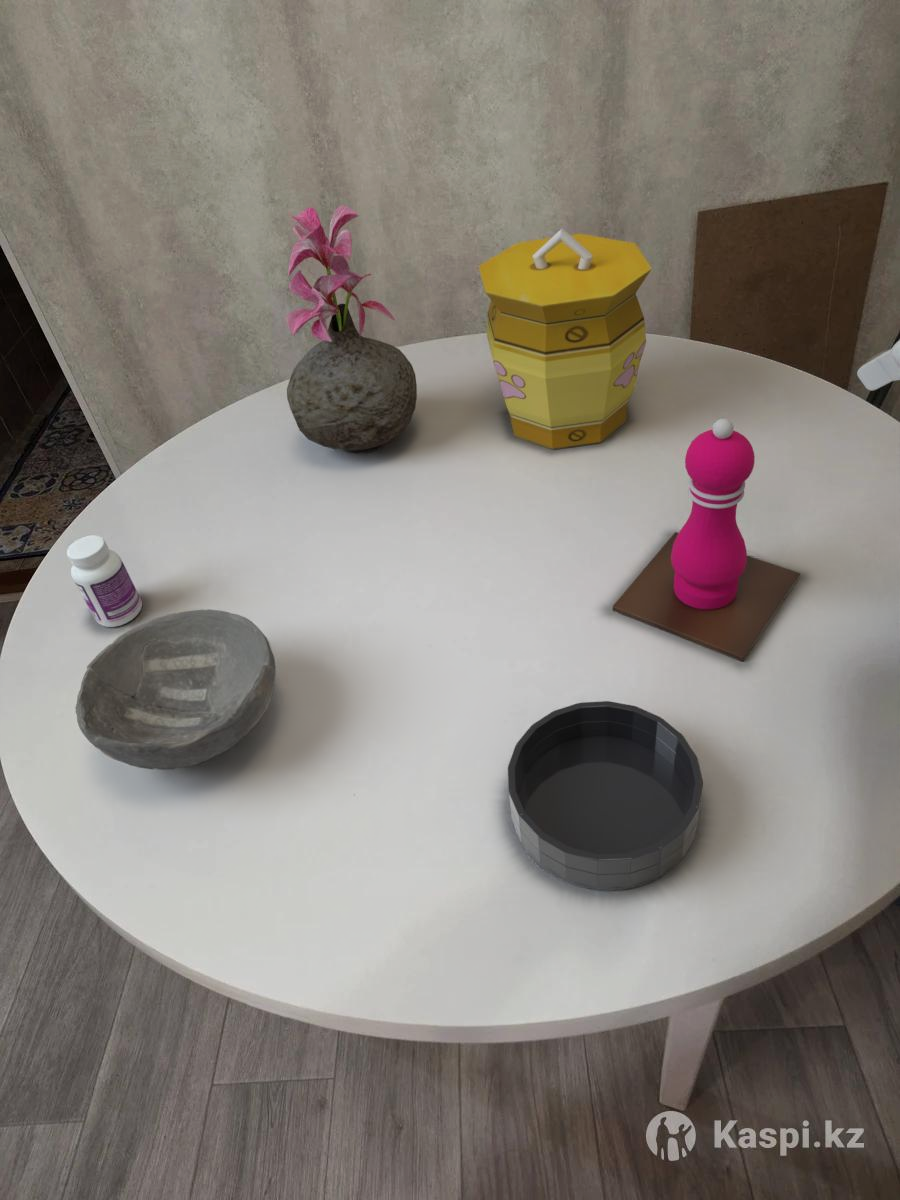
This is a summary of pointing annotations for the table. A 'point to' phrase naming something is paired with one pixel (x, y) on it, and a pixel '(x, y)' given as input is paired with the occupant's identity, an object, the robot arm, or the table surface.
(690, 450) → the pepper mill
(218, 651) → the bowl
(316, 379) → the vase
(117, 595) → the pill bottle
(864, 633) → the table surface
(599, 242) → the container
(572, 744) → the pan
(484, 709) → the table surface
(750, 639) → the trivet
